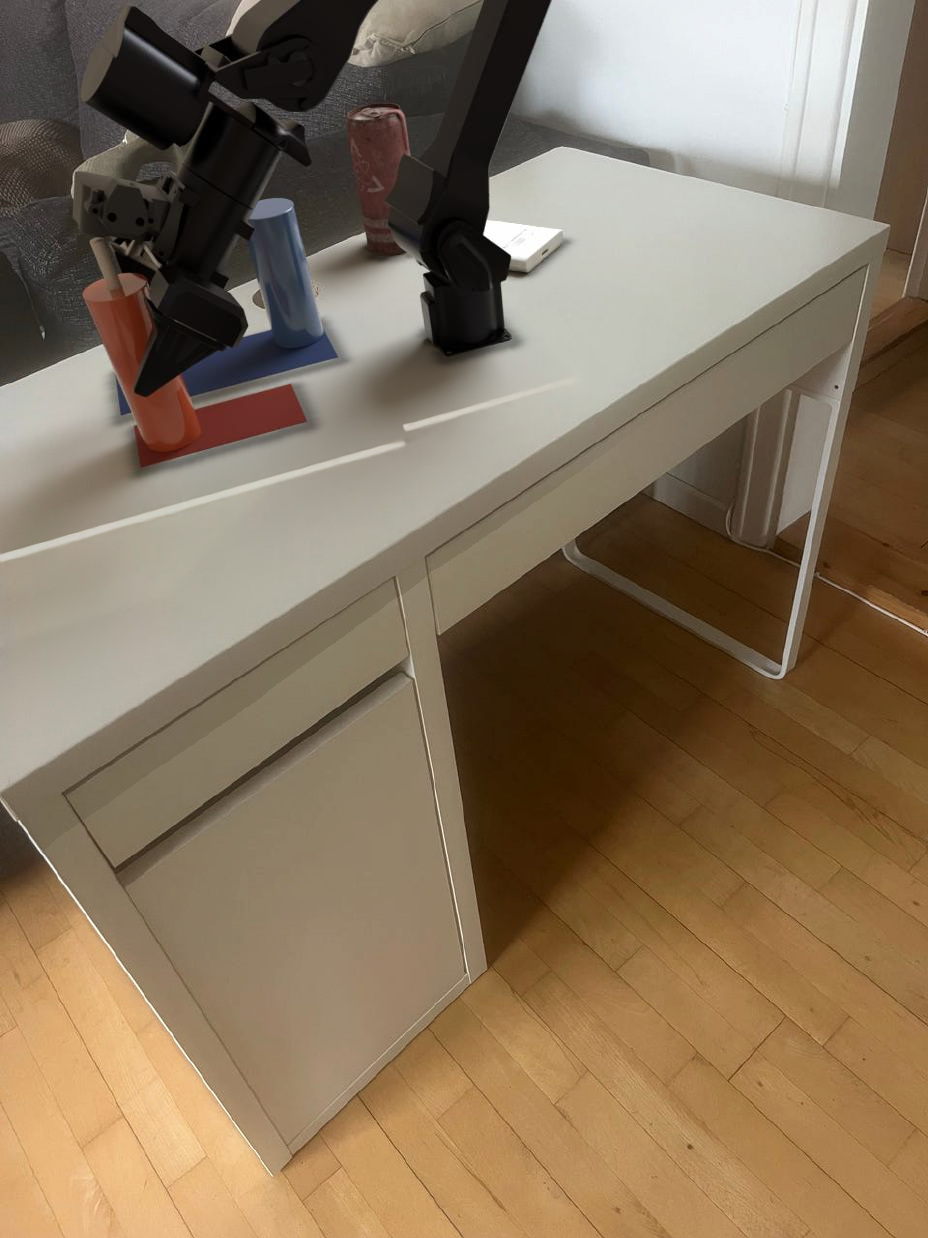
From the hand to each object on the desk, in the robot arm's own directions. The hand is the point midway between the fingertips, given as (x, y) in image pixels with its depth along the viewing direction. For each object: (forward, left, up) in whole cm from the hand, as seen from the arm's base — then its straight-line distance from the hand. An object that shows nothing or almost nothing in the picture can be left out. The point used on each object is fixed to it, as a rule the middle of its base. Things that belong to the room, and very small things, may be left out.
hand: (126, 369), depth 71 cm
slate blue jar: (-15, -12, -7) cm, 20 cm away
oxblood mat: (-5, 0, -7) cm, 9 cm away
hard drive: (-38, -21, -7) cm, 44 cm away
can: (-29, -28, -7) cm, 41 cm away
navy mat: (-7, -11, -7) cm, 15 cm away
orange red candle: (-2, 0, -7) cm, 7 cm away
